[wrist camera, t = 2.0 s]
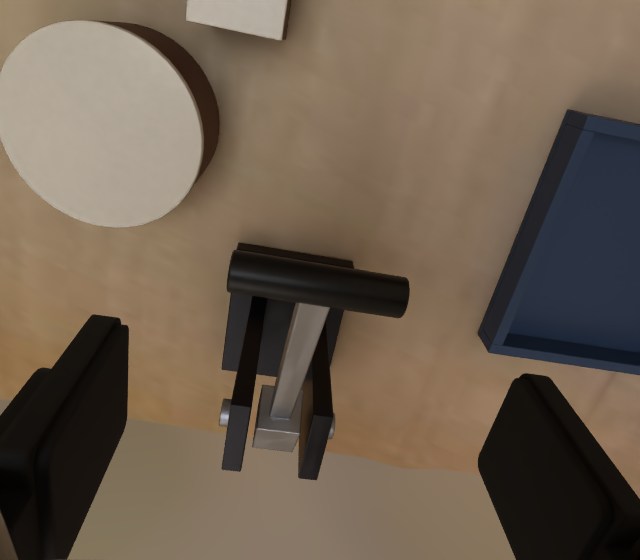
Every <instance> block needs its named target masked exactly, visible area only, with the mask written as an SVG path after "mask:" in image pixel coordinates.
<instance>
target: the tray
mask: <svg viewBox="0 0 640 560" xmlns="http://www.w3.org/2000/svg"><path fill="white" fill-rule="evenodd" d="M478 336H479V337H480V339H481V340H482V342H483V344H484V346H485V347H486V349H487V351H488V352H489V353H494V354H501V355H507V356H514V357H521V358H528V359H534V360H541V361H548V362H555V363H561V364H568V365H575V366H582V367H589V368H595V369H602V370H609V371H616V372H622V373H629V374H636V375H640V124H635V123H631V122H626V121H621V120H616V119H612V118H607V117H602V116H597V115H593V114H588V113H583V112H578V111H574V110H569V109H568V110H567V112H566V115H565V117H564V120H563V122H562V125H561V127H560V130H559V132H558V134H557V137H556V139H555V142H554V144H553V147H552V149H551V152H550V154H549V157H548V159H547V162H546V164H545V167H544V169H543V172H542V174H541V177H540V179H539V182H538V184H537V187H536V189H535V192H534V194H533V197H532V199H531V202H530V204H529V207H528V209H527V212H526V214H525V217H524V219H523V222H522V224H521V227H520V229H519V232H518V234H517V237H516V239H515V242H514V244H513V247H512V249H511V252H510V254H509V257H508V259H507V262H506V264H505V267H504V269H503V272H502V274H501V277H500V279H499V282H498V284H497V287H496V289H495V292H494V294H493V297H492V299H491V302H490V304H489V307H488V309H487V312H486V314H485V317H484V319H483V322H482V324H481V327H480V329H479V332H478Z"/></svg>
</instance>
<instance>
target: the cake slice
mask: <svg viewBox="0 0 640 560" xmlns="http://www.w3.org/2000/svg"><path fill="white" fill-rule="evenodd" d="M290 6H291V0H187V9H186V20H187V21H190V22H195V23H200V24H204V25H209V26H214V27H218V28H223V29H228V30H232V31H237V32H242V33H247V34H251V35H256V36H261V37H265V38H270V39H275V40H279V41H281V40H285V39H286V34H287V27H288V20H289V13H290Z"/></svg>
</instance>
